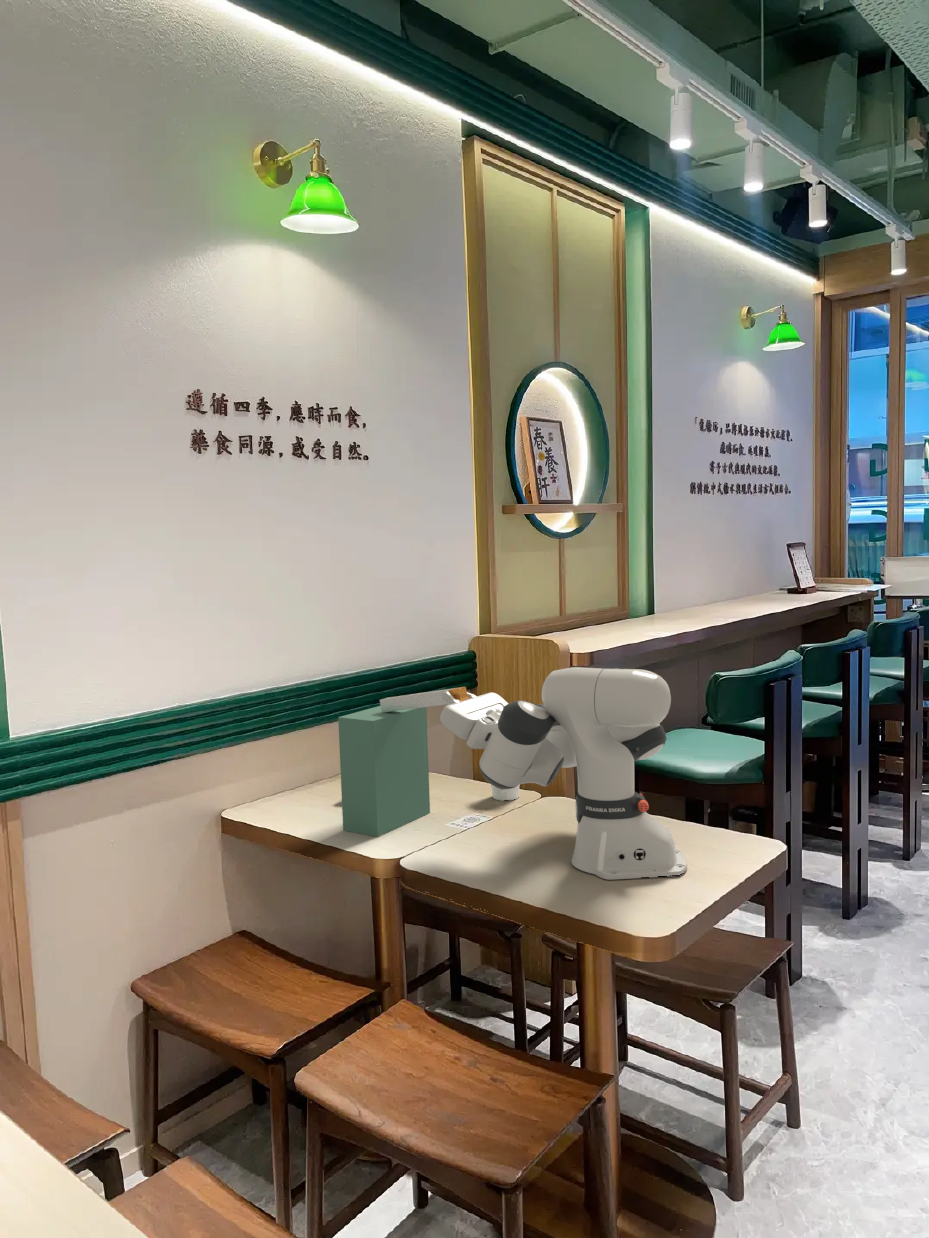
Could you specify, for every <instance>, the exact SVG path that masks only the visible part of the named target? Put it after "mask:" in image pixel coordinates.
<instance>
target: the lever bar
mask: <svg viewBox="0 0 929 1238" xmlns="http://www.w3.org/2000/svg"><path fill="white" fill-rule="evenodd" d="M448 691H449V692H451V693H452V694H454V696H453V697H454V698H455V700H459V701H464V700H467V699H468V696H467V692H468V691H467V687H466V686H462V687H461V686H460V687H453V688H447V689H446V688H445V689H441V690H432V691H426V692H425V691H424V692H418V693H411V694H404V695H399V696H398V695H397V696H390V697H386V698H385V697H384V698H382V699H379V703H380V704H379V706H381V710H382V713H384V712H392V711H399V710H407V709H415V708H422V707H426V708H429V707H430V708H431V707H438V706H444V705H445V706H446V705H448V704H447V702H446V701H444V700H443V699H442V696H443V694H444V692H448Z"/></svg>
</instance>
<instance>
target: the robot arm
mask: <svg viewBox="0 0 929 1238" xmlns="http://www.w3.org/2000/svg"><path fill="white" fill-rule="evenodd" d="M453 696H454V694H452V693H451V692H449V691H448V692H444V694H443V696H442V699H443V700H444V701H446V702H447V704H446V705H445V706H444V707H443V709H442V711H441V714H440V715H439V720H440V723H441V724H442V725H443V726H444V727H445V728H446V729H447V730H449V732H451V733H453V734H454V735H455V736H457V737H458V738H460V739H461V740H464V741H466V743H465V744H466V746H468V747H469V748H470V749H473V750H483V752H482V755H481V757H480V759H479V763H478V768H479V771H480V773H481V775H482V777H483V778H484V779H485V781H486V782H487V783H489V784H490V785H493V786H495V787H496V788H499V789H502V790H504V789H511V788H514V787H517V786H518V785H519V784H520V785H523V784H537V785H539V786H542V787H547V786H549V785H551V784H552V783H553V781H554V780H555V779H556V778H557V775H558V774H559V772H560V770H561V769H562V768H574V767H575V768H576V771H577V792H576V796H575V818H576V821H577V826H576V827H577V828H576V836H575V844H574V850H573V854H572V857H571V864H572V866H573V867H574V868H576V869H578V870H580V871H582V872H586V873H589V874H592V875H596V876H598V877H599V878H601V879H602V880H603V879H604V880H608V881H609V880H610V881H614V880H626V879H627V880H629V879H642V878H641V877H649V878H659V877H658V876H667V877H673V876H672V875H679V874H682V873H683V872H684V871H686V872H687V870H688V863H687V862H688V861H687V858H686V856H685V855H684V853H683V852H682V851H681V850H679V849H677V848H676V845H675V840H674V838H673V835H672V833H671V832H670V830H669V828H668V827H667V826H666V825H664V824H663V823H661V821H659V820H658V819H656V818H654V817H653V815H651V814H650V813H647V812H648V810H649V808H650V806H649V802H648V801H647V800H646V798H645V796H643V793H641V792H639V793H638V792H637V791H635V761H636V762H637V761H641V760H647V759H650V758H652V757H655V755H657V754H658V753H659V752H660V751H661V749H662V748H663V746H665V744H666V742H667V734H666V731H665V729H664V727H663V725H661V724H660V723H662V722H663V720H664V719H666V717H667V715H668V714H669V711H670V708H671V703H672V695H671V690H670V687H669V684H668V683H667V681H666V680H665V679H663V677H662V676H661V675H658V673H655V672H653V671H650V670H646V669H639V668H638V669H637V668H623V669H622V668H618V667H614V668H597V667H596V668H595V667H577V666H574V667H567V668H561V669H556V670H555V669H554V670H553V671H551V672H550V673H549V675H547V676H546V678H545V680H544V681H543V684H542V688H541V700H542V701H541V702H542V704H539V703H533V702H530V701H526V700H522V699H521V700H516V701H511V702H507V700H505V699H504V698H503V697H502V696H501V695H500V694H498V693H496V692H492V691H490V692H487V693H483V694H481V695H478V696H477V695H475V694H473V693H470V692H468V691H467V696H468V699H467V700H464V701H459V700H455V698H454V697H453ZM686 869H687V870H686ZM670 875H671V876H670ZM682 875H683V874H682Z"/></svg>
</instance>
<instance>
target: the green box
mask: <svg viewBox="0 0 929 1238" xmlns="http://www.w3.org/2000/svg"><path fill="white" fill-rule="evenodd" d="M427 714H428V713H427V707H422V708H415V709H407V710H399V711H392V712H384V713H382V710H381V705H377V706H374V707H371V708H368V709H364V710H363V709H362V710H360V711H355V712H353V713H349V714H346V715H342V716H338V718H337V719H338V723H337V724H338V735H339V736H338V743H339V764H340V765H339V766H340V769H339V770H340V785H341V786H340V787H341V788H340V791H341V807H342V808H341V810H342V814H341V815H342V831H345V832H350V833H355V834H360V835H365V836H366V835H367V836H370V837H371V836H372V837H375V836H376V838H378V837H381V836H383V835H385V834H387V833H389V832H391V831H395V830H396V829H398V828H400V827H403V826H404V825H407V824H409V823H411V822H415V820H418V819H420V818H422V817H425V816H426V815H428V814H431V800H430V799H431V798H430V797H431V796H430V777H429V776H430V773H429V768H430V767H429V747H428V746H429V744H428V743H429V742H428V739H429V738H428V717H427V716H428V715H427ZM382 834H383V835H382ZM380 835H381V836H380Z"/></svg>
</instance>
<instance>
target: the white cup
mask: <svg viewBox="0 0 929 1238" xmlns="http://www.w3.org/2000/svg"><path fill="white" fill-rule="evenodd" d="M490 785H491V784H490ZM520 786H521V784H519V785H518V786H517V787H514V788H511V789H504V790H502V789H499V788H496V787H495V786H493V785H491V796H492V798H493V800H496V801H503V802H504V800H509V801H514V799H515V800H517V799H519V798H520ZM518 797H519V798H518Z"/></svg>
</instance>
